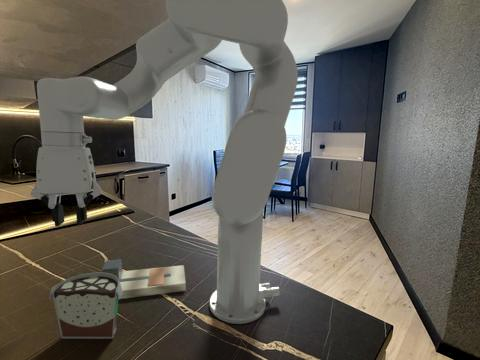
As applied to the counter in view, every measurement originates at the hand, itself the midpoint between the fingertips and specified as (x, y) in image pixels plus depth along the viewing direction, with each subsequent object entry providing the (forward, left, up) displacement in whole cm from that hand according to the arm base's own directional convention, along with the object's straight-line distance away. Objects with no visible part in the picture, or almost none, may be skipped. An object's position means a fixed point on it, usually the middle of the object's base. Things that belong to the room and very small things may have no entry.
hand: (70, 223), depth 57 cm
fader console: (-14, 0, -17) cm, 22 cm away
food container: (-7, +12, -17) cm, 23 cm away
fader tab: (-8, 0, -15) cm, 17 cm away
